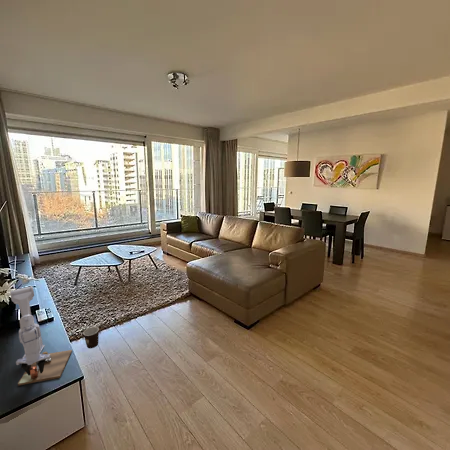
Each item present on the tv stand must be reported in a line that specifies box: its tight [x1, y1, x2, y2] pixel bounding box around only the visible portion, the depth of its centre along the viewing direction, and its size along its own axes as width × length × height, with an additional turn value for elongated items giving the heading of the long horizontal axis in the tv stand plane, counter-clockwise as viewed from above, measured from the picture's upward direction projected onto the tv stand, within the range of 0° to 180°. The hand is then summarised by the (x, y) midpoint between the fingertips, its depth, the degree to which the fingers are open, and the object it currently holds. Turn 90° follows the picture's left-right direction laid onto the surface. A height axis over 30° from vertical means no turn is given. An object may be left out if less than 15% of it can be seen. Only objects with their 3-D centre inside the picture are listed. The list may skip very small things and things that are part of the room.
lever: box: [29, 358, 51, 379], centre depth 134 cm, size 14×7×5 cm, turn 21°
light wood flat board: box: [17, 349, 73, 386], centre depth 137 cm, size 20×19×5 cm
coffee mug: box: [81, 326, 100, 349], centre depth 155 cm, size 12×9×10 cm
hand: (36, 372), depth 129 cm, fingers open, 5 cm apart
